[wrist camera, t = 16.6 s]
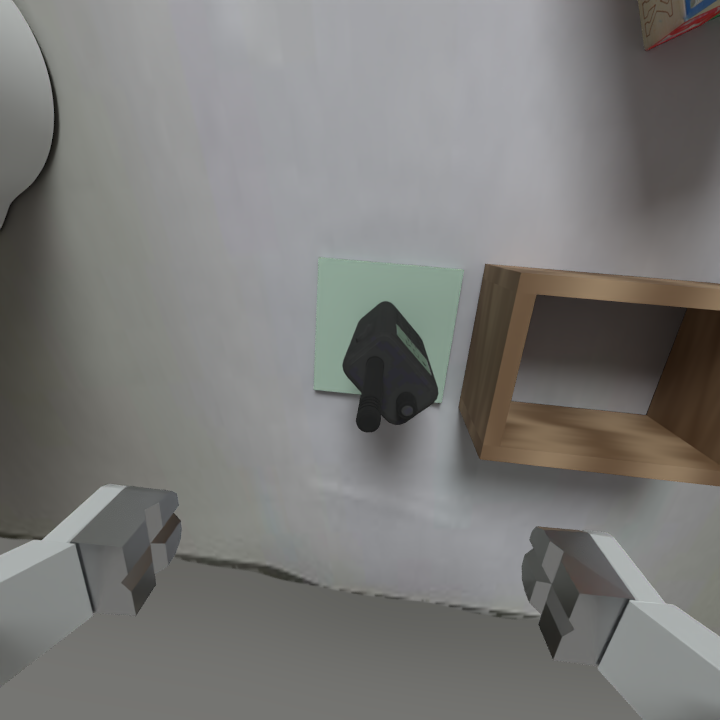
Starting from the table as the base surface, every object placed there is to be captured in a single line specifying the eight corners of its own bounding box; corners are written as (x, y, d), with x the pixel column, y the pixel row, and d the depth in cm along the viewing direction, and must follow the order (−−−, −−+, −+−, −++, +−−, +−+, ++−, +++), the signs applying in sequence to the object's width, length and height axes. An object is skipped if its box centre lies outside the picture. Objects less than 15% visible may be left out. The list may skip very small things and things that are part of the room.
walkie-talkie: (427, 344, 26) (471, 470, 12) (391, 371, 27) (392, 519, 13) (385, 293, 25) (378, 363, 11) (349, 323, 26) (299, 424, 12)
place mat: (315, 386, 28) (313, 389, 28) (320, 257, 25) (318, 257, 24) (440, 399, 28) (441, 403, 27) (462, 269, 25) (463, 270, 24)
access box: (458, 407, 28) (479, 459, 21) (485, 263, 24) (521, 272, 18) (655, 428, 27) (741, 488, 20) (712, 283, 24) (839, 299, 17)
